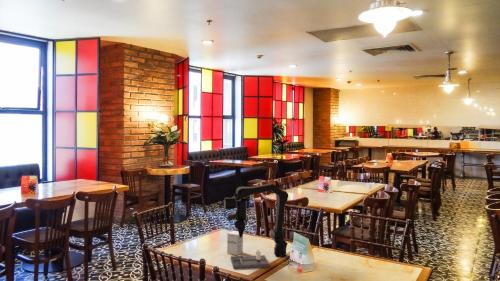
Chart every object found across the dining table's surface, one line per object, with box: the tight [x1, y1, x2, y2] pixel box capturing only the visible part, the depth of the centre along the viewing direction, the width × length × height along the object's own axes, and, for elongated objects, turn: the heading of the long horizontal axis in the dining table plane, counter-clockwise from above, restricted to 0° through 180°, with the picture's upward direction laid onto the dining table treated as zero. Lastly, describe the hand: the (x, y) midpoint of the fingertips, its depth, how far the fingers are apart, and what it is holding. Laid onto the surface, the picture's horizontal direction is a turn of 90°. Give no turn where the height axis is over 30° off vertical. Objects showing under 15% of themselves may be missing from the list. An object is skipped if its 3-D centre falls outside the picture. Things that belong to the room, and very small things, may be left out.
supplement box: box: [226, 230, 244, 256], centre depth 237 cm, size 7×7×13 cm
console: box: [230, 254, 270, 270], centre depth 220 cm, size 20×14×2 cm
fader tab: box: [255, 249, 262, 260], centre depth 220 cm, size 2×4×5 cm, turn 9°
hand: (241, 234), depth 228 cm, fingers open, 9 cm apart
